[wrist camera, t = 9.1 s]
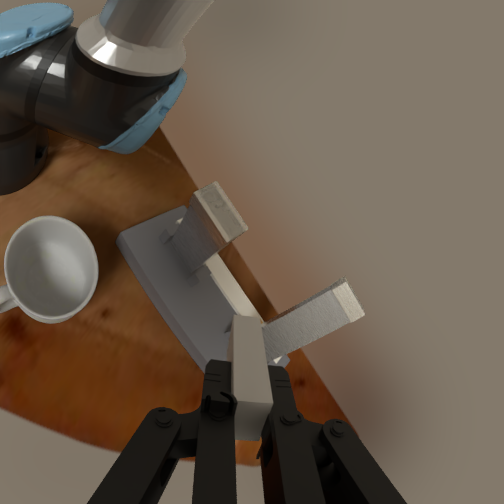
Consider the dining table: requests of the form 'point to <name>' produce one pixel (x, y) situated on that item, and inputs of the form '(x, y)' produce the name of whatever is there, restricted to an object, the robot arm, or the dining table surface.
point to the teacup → (49, 270)
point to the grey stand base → (187, 289)
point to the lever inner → (207, 226)
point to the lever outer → (311, 319)
